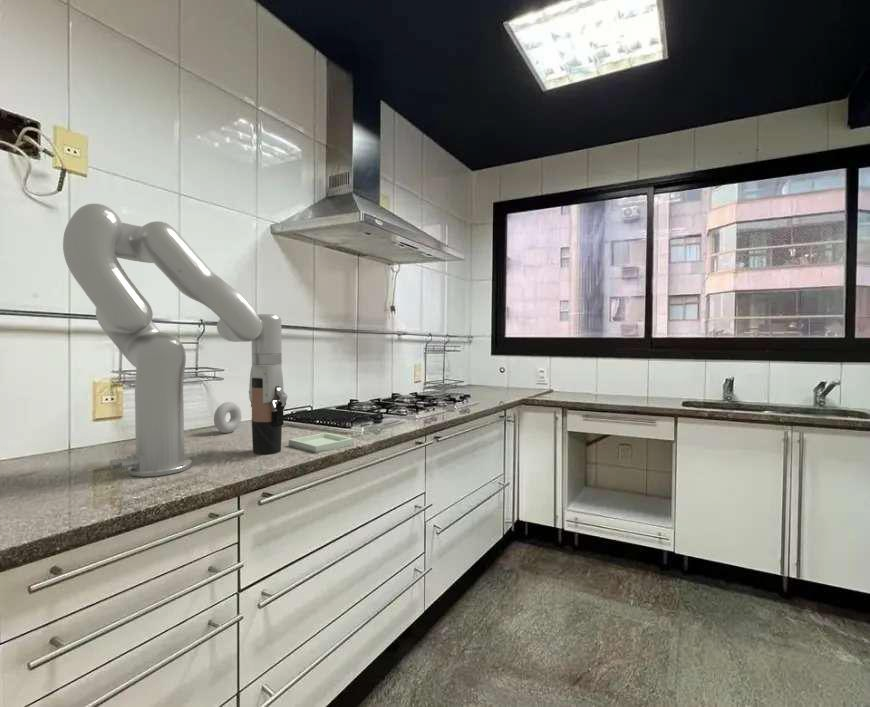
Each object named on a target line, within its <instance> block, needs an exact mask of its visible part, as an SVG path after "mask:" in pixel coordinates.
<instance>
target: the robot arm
mask: <svg viewBox="0 0 870 707" xmlns="http://www.w3.org/2000/svg"><path fill="white" fill-rule="evenodd" d="M62 239H63V240H62V249H63V250H62V251H63V255H64V256H63V258H64V260H65V262H66V263H65V264H66V266H67V268H68V269H69V271H70V273H71V275H72V276H73V278H74V279H75V281H76V283H78V285H79V287H81V289H82V290H83V292H84V293H85V294H86V296H87V297H88V299H89V301H91V303H92V304H93V305H94V306H95V317H96V320H97V323H98V324H99V326H100V327H101V329H102V330H103V331H104V333H105V334H106V335H107V336H108V338H109V339H110V340H111V342H112V343H113V344H114V345H115V346H116V347H117V349H118V350H119V352H120V353H121V354H122V355H123V356H124V358H126V359H127V361H128V362H129V363H130V364H131V365H132V366H133V367H134V368H135V379H134V380H135V382H134V403H135V404H134V412H135V413H134V414H135V417H134V418H135V420H134V421H135V424H134V425H135V450H133V451H131V452H130V455H126V457H124V458H123V457H122V458H120V457H119V458H113V459H110V460H109V467H110V469H117V468H121V469H125V468H127V474H128V475H130V476H133V477H139V478H140V477H141V478H142V477H145V478H146V477H158V476H159V477H160V476H166V475H171V474H175V473H176V474H177V473H180V472H183V471H186V470H188V469H190V467H192V460H191V459H190V458H186V457H185V438H184V437H185V434H184V433H185V432H184V431H185V430H184V426H185V424H184V423H185V422H184V421H185V420H184V419H185V418H184V410H185V409H184V379H185V369H186V363H187V362H186V361H187V358H186V357H187V356H186V349H185V347H184V345H183V343H182V342H181V341H180V339H178V337H176V336H175V335H173V334H171V333H168V332H161V331H160V329H159V328H158V327H157V326H156V324H155V323H154V322H153V321H152V320H153V315H154V314H153V310H152V307H151V305H150V303H149V302H148V300H147V299H146V298H145V297H144V296H143V294H142V293H141V291H140V290H138V288H137V287H136V285H135V284H134V282H133V281H132V280H131V279H130V278H129V276H128V274H127V273H126V272H125V270H124V268H123V267H122V266H121V264H120V262H119V260H118V259H123V260H128V261H133V262H141V263H147V264H154V265H155V266H156V267H157V269H159V270H160V271H161V272H162V273H163V274H164V276H166V277H167V278H168V279H169V281H170V282H171V283H172V284H173V285H174V286H175V288H177V289H178V290H179V292H180V293H182V294H183V295H185V296H186V297H187V298H189V299H192V300H194V301H195V302H198V303H200V304H202V305H204V306H205V307H206V308H207V309H209V310H211V311H212V312H213V313H214V314H215V315H216V316H218V318H219V320H218V321H217V325H216V329H217V333H218V334H219V336H220V337H221V338H222V339H224V340H226V341H228V342H232V343H233V342H236V343H237V342H238V343H239V342H241V343H242V342H245V343H246V342H251V367H250V373H249V374H250V375H249V385H248V386H249V387H248V397H249V399H248V400H249V401H250V408H252V378H256V379H263V403H264V404H269V402H270V405H271V407H272V409H273V412H271V426H272V427H277V426H282V427H283V426H284V411H285V410H286V408H285V407H286V406H287V399H288V395H287V393H285V390H284V378H283V368H282V366H283V365H282V361H283V360H282V358H283V357H282V356H283V355H282V350H283V348H282V319H281V318H282V317H281V316H279V315H278V314H272V313H271V314H269V313H257V312H256V311H255V309H253V307H252V306H251V305H250V304H249V303H248V301H247V300H246V299H245V298H244V297H243V296H242V295H241V294H240V293H239V292H238V291H237V290H236V289H235V288H233V287H232V286H231V285H230V284H228V283H227V282H226V281H224V279H222V278H221V277H220V276H218V275H217V274H215V273H214V272H213V271H212V269H210V267H208V265H207V264H206V263H205V262H204V261H203V259H201V258H200V256H199V255H198V253H197V252H195V251H194V249H193V248H192V247H191V246H190V245H189V243H188V242H187V241H186V240H185V238H183V237H182V235H181V234H180V233H179V232H178V231H177V230H176V228H174V227H173V226H172V225H170V224H169V223H167V222H164V221H152V222H147V223H146V224H144V225H142V226H141V225H135V224H131V223H127V222H126V223H125V222H123V221H122V220H121V219H120V217H119V216H118V214H117V213H116V212H115V211H114V210H113V209H112V208H110V207H109V206H107V205H104V204H102V203H89V204H88V203H87V204H85V205H82V206H81V207H79V208H78V209H77V210H75V212H74V213H73V215H72V216H71V217H70V219H69V221H68V222H67V224H66V227H65V229H64V232H63V238H62ZM275 393H276V394H277V395H278V400H273V398H274V395H275ZM275 404H277V405H275Z"/></svg>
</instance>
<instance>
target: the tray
mask: <svg viewBox="0 0 870 707" xmlns="http://www.w3.org/2000/svg"><path fill="white" fill-rule="evenodd" d="M353 444H354V445H355V438H353V437H349V436H344V435H339V434H335V433H329V432H322V433H317V434H312V435H307V436H306V435H305V436H299V437H295V438H289V439H288V446H289V447H290V448H291V447H292V448H295V449H300V450H303V451H306V452H310V453H314V454H319V453H324V452H328V450H329V451H333V450H336V449H337V450H338V449H341V448H340V447H342V448H345V447H344V446H346V447H349V446H348V445H351V446H354V445H353Z"/></svg>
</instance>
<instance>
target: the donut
mask: <svg viewBox="0 0 870 707" xmlns="http://www.w3.org/2000/svg"><path fill="white" fill-rule="evenodd" d="M228 413H229V415H230V419H229V420H228V422H227V420H226V416H227V415H228ZM241 421H242V411H241V408H240V407H239V406H238V404H237V403H234V402H232V401H227V402H224V403H221V404H220V405H219V406H217V408H216V409H215V412H214V415H213V424H214V426H215V428H216V429H217V430H218V431H219V432H221V433H223V434H229V433H231V432H234V431H236V430H237V429H238V428H239V426H240V424H241Z"/></svg>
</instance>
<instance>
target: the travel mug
mask: <svg viewBox="0 0 870 707" xmlns="http://www.w3.org/2000/svg"><path fill="white" fill-rule="evenodd" d="M273 400H278V395H277V394H276V393H275V395H274V398H273ZM275 405H277V404H275ZM271 412H273V409H272V407H271V405H270V402H269V404H264V403H263V379H256V378H252V407H251V435H252V436H251V438H252V440H251V441H252V453H253V454H254V455H260V456H263V455H274V454H279V453H281V451H282V433H283V432H282V430H283V428H282V427H283V426H277V427H272V426H271Z"/></svg>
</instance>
